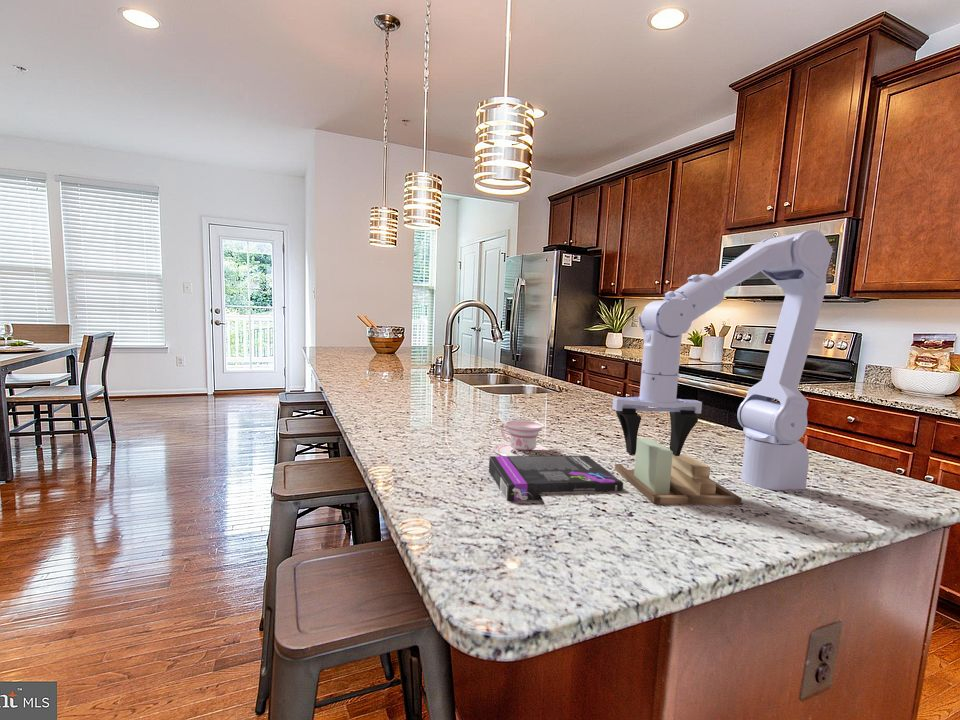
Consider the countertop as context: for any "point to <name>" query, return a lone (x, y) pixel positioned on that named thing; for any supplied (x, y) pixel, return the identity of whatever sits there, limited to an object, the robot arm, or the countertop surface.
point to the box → (549, 476)
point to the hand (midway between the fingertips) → (652, 453)
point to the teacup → (520, 437)
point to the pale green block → (653, 465)
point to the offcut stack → (693, 474)
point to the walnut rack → (680, 492)
